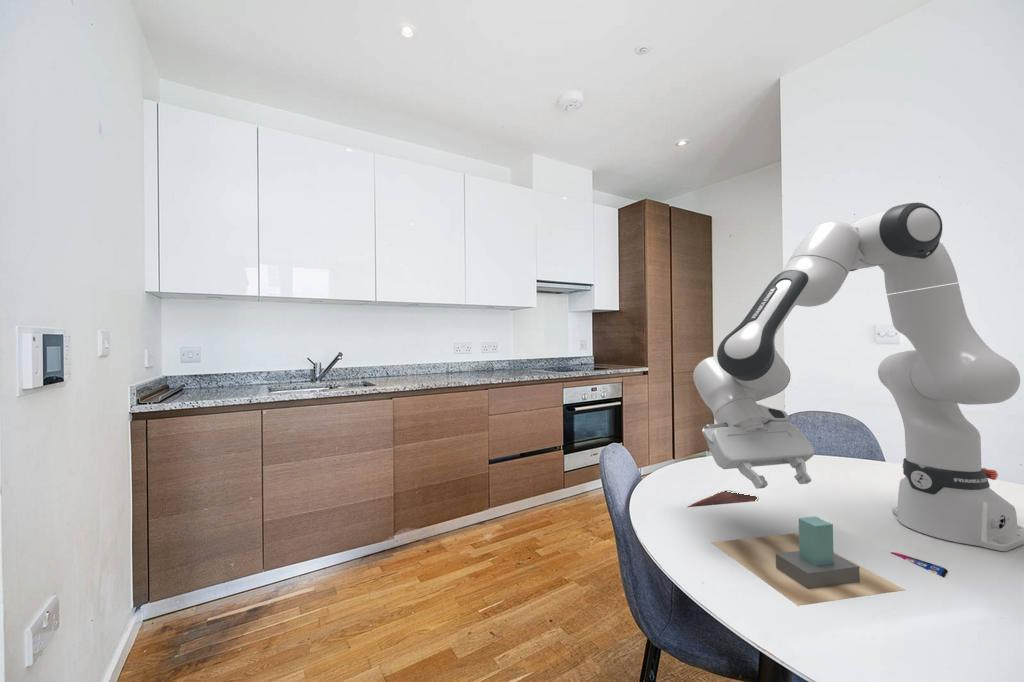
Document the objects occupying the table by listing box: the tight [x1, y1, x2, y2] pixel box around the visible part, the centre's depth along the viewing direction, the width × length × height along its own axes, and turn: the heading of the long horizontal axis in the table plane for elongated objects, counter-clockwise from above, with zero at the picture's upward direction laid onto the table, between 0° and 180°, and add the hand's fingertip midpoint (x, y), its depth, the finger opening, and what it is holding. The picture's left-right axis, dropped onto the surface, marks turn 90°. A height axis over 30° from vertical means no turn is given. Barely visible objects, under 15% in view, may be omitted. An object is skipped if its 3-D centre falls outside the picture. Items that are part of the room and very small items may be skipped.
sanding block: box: [776, 516, 860, 589], centre depth 65 cm, size 10×6×9 cm, turn 100°
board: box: [710, 532, 906, 607], centre depth 69 cm, size 20×19×2 cm
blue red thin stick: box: [890, 552, 949, 578], centre depth 68 cm, size 8×1×15 cm
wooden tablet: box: [687, 491, 758, 508], centre depth 97 cm, size 26×2×10 cm
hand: (784, 484), depth 72 cm, fingers open, 8 cm apart
